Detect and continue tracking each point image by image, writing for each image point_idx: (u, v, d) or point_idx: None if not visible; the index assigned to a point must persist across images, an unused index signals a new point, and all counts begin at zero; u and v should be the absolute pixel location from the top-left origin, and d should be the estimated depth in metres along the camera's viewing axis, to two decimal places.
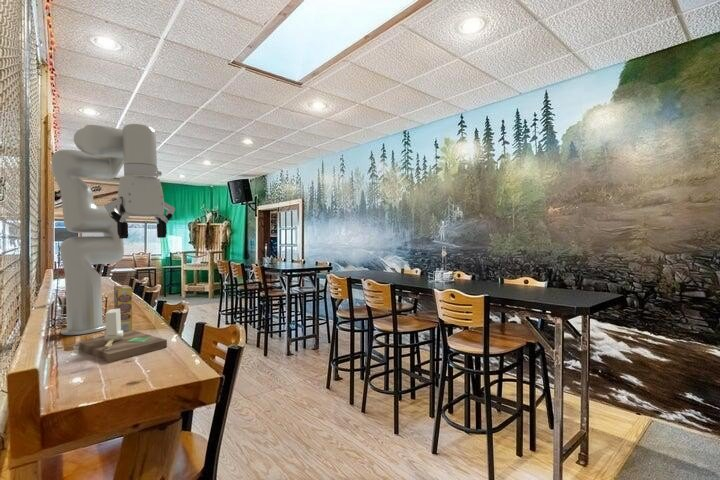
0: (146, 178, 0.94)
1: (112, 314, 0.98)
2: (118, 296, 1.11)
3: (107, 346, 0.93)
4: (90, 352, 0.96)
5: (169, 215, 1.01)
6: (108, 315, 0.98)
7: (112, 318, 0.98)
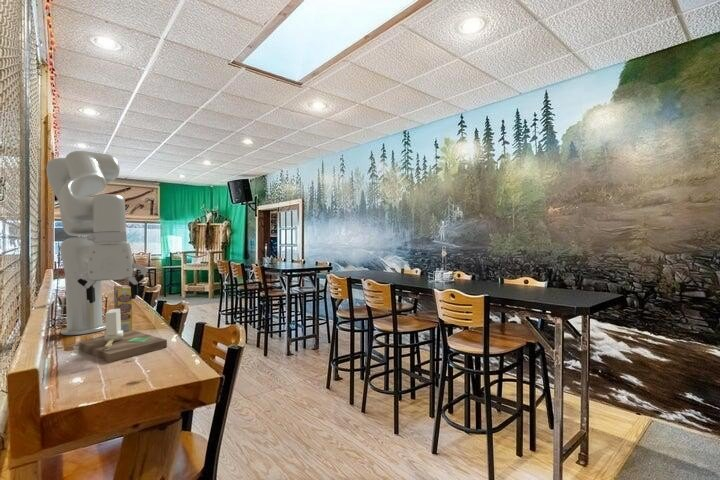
0: None
1: (112, 314, 0.98)
2: (118, 296, 1.11)
3: (107, 346, 0.93)
4: (90, 352, 0.96)
5: None
6: (108, 315, 0.98)
7: (112, 318, 0.98)
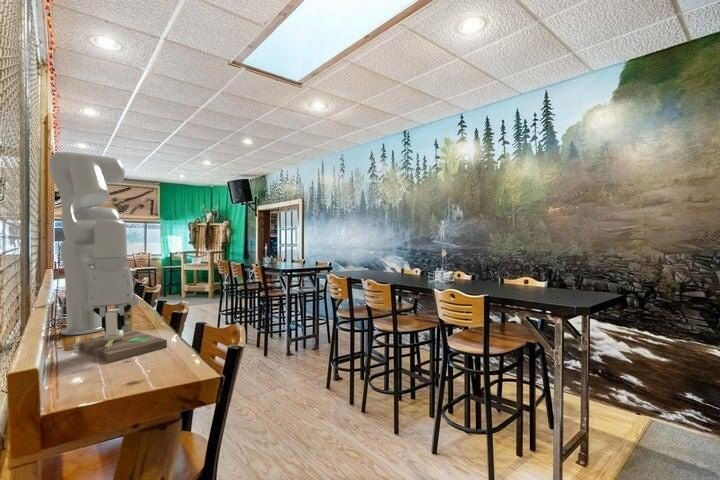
0: None
1: (112, 314, 0.98)
2: None
3: (107, 346, 0.93)
4: (90, 352, 0.96)
5: None
6: (108, 315, 0.98)
7: (112, 318, 0.98)
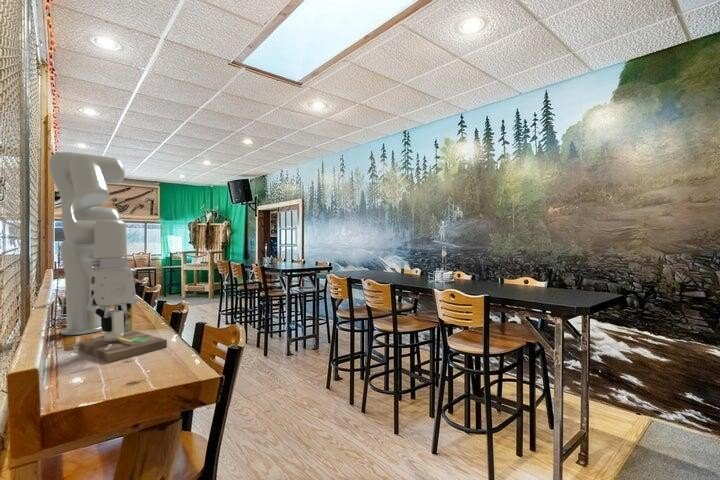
0: None
1: (120, 313, 1.00)
2: None
3: (132, 341, 0.96)
4: (90, 352, 0.96)
5: None
6: (116, 314, 0.99)
7: (120, 317, 1.00)
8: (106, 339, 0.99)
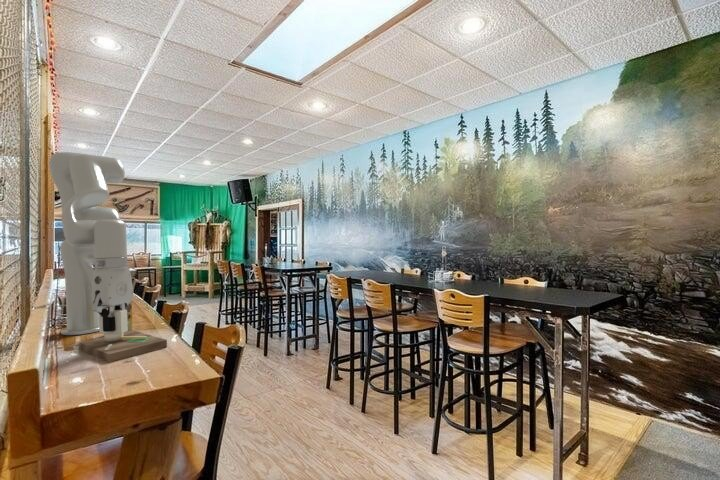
0: None
1: (124, 312, 1.01)
2: None
3: (146, 337, 1.01)
4: (90, 352, 0.96)
5: None
6: (122, 313, 1.00)
7: (124, 316, 1.01)
8: (110, 339, 0.99)
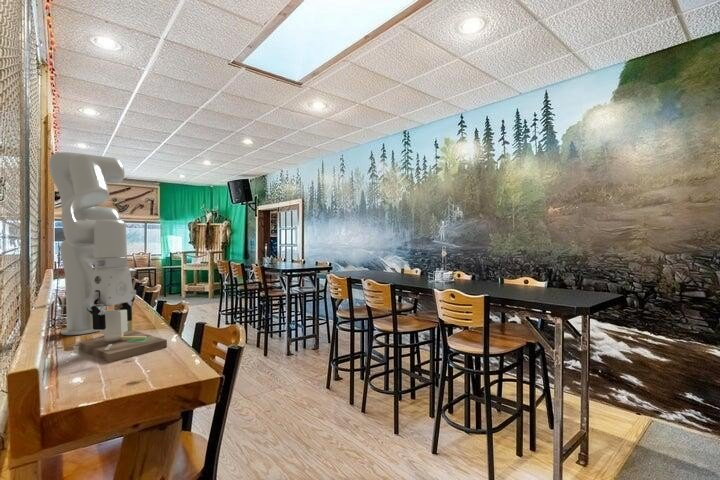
0: None
1: (124, 312, 1.01)
2: None
3: (146, 337, 1.00)
4: (90, 352, 0.96)
5: None
6: (122, 313, 1.00)
7: (124, 316, 1.01)
8: (109, 339, 0.99)
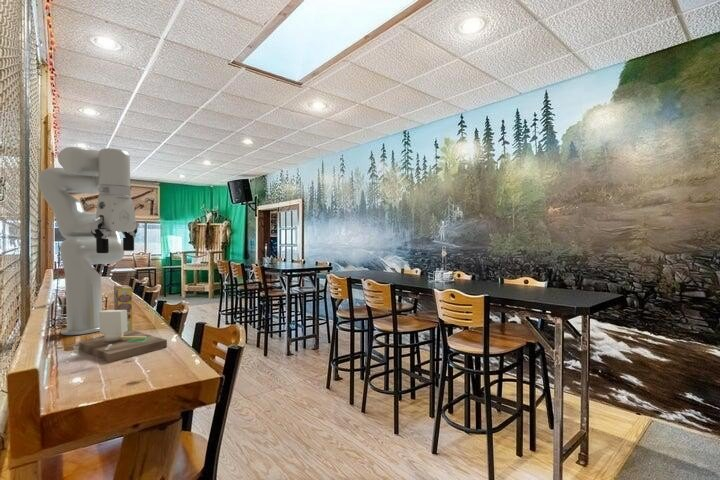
0: None
1: (124, 312, 1.01)
2: (118, 296, 1.11)
3: (146, 337, 1.00)
4: (90, 352, 0.96)
5: None
6: (122, 313, 1.00)
7: (124, 316, 1.01)
8: (109, 339, 0.99)
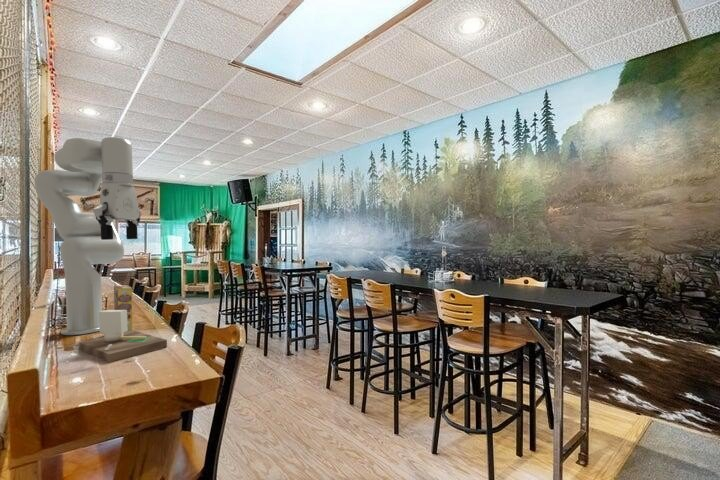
0: None
1: (124, 312, 1.01)
2: (118, 296, 1.11)
3: (146, 337, 1.00)
4: (90, 352, 0.96)
5: None
6: (122, 313, 1.00)
7: (124, 316, 1.01)
8: (109, 339, 0.99)
